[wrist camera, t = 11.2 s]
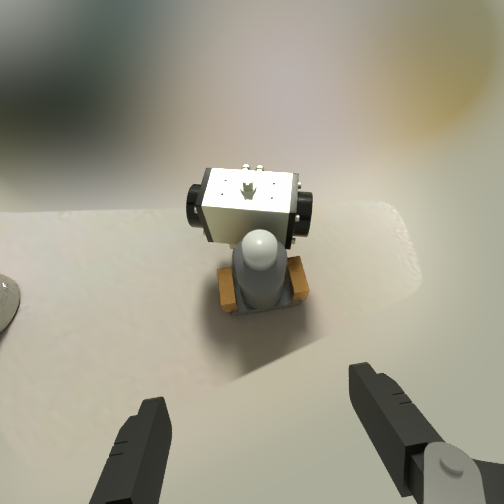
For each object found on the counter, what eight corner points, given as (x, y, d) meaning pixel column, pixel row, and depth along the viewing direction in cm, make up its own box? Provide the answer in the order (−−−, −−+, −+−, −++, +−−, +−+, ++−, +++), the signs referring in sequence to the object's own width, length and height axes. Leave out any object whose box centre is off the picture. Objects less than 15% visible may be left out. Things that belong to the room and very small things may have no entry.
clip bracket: (225, 317, 29) (221, 308, 26) (221, 279, 31) (216, 266, 28) (305, 304, 29) (310, 293, 26) (295, 267, 32) (299, 253, 29)
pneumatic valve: (299, 270, 31) (315, 206, 21) (204, 260, 33) (174, 196, 22) (301, 231, 34) (317, 158, 24) (213, 224, 35) (191, 150, 25)
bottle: (243, 312, 28) (233, 275, 19) (238, 274, 30) (227, 224, 22) (285, 306, 28) (294, 266, 20) (277, 268, 31) (282, 216, 22)
